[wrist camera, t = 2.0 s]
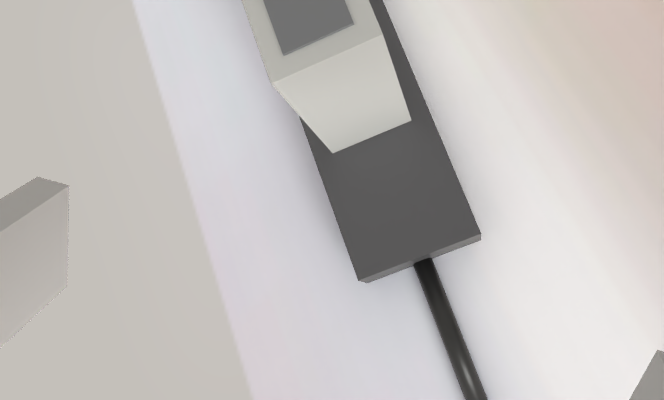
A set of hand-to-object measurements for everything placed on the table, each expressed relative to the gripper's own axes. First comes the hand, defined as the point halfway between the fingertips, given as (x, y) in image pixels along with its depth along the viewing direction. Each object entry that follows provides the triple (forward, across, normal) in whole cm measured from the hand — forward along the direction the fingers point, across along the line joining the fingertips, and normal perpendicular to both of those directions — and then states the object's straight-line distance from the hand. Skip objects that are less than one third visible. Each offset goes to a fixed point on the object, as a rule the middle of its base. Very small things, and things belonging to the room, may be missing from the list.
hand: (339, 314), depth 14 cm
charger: (+22, -2, -2) cm, 22 cm away
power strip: (+22, -1, -3) cm, 22 cm away
